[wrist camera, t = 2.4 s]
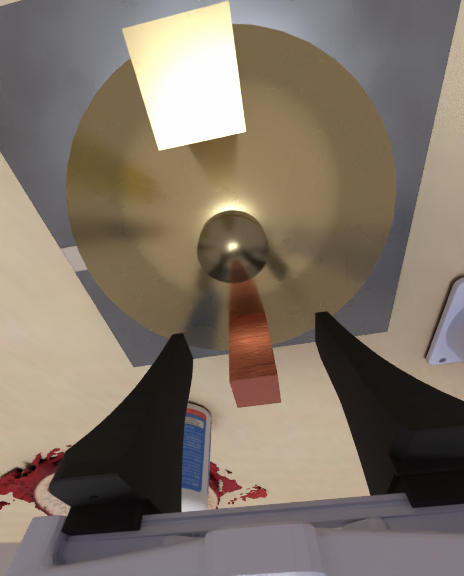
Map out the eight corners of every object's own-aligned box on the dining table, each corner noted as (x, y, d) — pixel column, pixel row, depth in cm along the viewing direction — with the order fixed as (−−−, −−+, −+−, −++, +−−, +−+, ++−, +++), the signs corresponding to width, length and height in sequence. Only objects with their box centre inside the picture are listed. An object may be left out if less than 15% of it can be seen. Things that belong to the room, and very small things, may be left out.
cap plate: (462, -106, 8) (494, -137, 7) (379, 321, 18) (388, 332, 17) (-50, 36, 9) (-80, 27, 8) (137, 356, 19) (133, 368, 18)
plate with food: (152, 521, 44) (147, 550, 41) (-9, 480, 32) (-32, 517, 29) (268, 481, 36) (272, 513, 33) (113, 405, 24) (98, 446, 21)
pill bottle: (143, 408, 23) (99, 563, 15) (195, 394, 22) (177, 552, 14) (174, 435, 26) (150, 577, 18) (221, 424, 25) (218, 569, 17)
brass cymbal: (406, -12, 8) (637, -183, 4) (361, 315, 16) (416, 395, 11) (12, 87, 9) (-194, 56, 5) (149, 346, 17) (120, 430, 12)
